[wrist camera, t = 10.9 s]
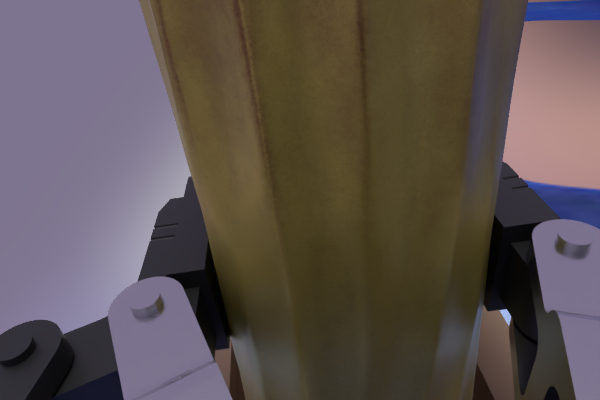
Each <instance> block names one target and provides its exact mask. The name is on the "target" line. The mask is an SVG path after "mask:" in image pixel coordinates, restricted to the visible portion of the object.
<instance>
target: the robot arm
mask: <svg viewBox="0 0 600 400" xmlns="http://www.w3.org/2000/svg"><path fill="white" fill-rule="evenodd" d="M154 227H155V229H153V233H152V236H151V241H150V243H149V246H148V249H147V253H146V256H145V259H144V262H143V266H142V269H141V272H140V275H139V279H138V282H136V283H134V284H132V285H131V286H129V287H127V288H126V289H125V290H124V291H122V292H121V293H120V294H119V295H118V296H117V297H116V298H115V300H114V301H113V303H112V304H111V306H110V309H109V312H108V316H107V317H105V318H103V319H101V320H98V321H96V322H94V323H91V324H89V325H86V326H83V327H81V328H78V329H76V330H73V331H70V332H68V333H66V334H63V333H62V331H61V330H60V328H59V327H58V326H57V325H56V324H55V323H53V322H51V321H48V320H34V321H29V322H26V323H23V324H20V325H18V326H15V327H13V328H12V329H9V330H7V331H6V332H4V333H3V334H1V335H0V400H233V399H232V397H231V395H230V392H229V390H228V388H227V385H226V383H225V381H224V378H223V376H222V374H221V371H220V369H219V367H218V365H217V363H216V361H215V350H222V349H228V348H229V347H230V332H229V327H228V322H227V317H226V313H225V308H224V304H223V299H222V295H221V291H220V286H219V281H218V277H217V273H216V269H215V265H214V261H213V257H212V253H211V248H210V244H209V240H208V235H207V231H206V226H205V222H204V218H203V214H202V210H201V207H200V203H199V200H198V197H197V193H196V190H195V186H194V183H193V179H192V176H191V177H189V178H188V181H187V185H186V190H185V194H184V197H182V198H175V199H170V200H169V202H168V203H167V204H166V205H165V206H164V207H163V208H162V209H161V210H160V211H159V213H158V216H157V219H156V223H155V226H154ZM483 305H484V306H485V308H486V310H487V311H495V310H502V309H507V310H508V312H509V313H510V315H511V316H512V317H511V321H510V325H509V340H510V351H511V363H512V374H513V386H514V397H515V400H600V229H598V228H596V227H594V226H591V225H589V224H586V223H582V222H578V221H574V220H565V219H561V218H560V217H559V216H558V215H557V214H556V213H555V212H554V211H553V210H552V209H551V208H550V207H549V206H548V205H547V204H546V203H545V202H544V201H543V200H542V199H541V198H540V197H539V196H538V195H537V194H536V193H535V192H534V191H533V190H532V189H531V188H528V185H527V184H526V183H525V182H524V181H523V180H522V179H521V178H519V177H518V175H517V174H516V173H515V172H514V170H513V169H512V168H510V166H509V165H508V164H506V163H504V162H502V167H501V173H500V180H499V187H498V193H497V200H496V206H495V213H494V219H493V226H492V234H491V242H490V251H489V260H488V270H487V279H486V287H485V295H484V303H483Z"/></svg>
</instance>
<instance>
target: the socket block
mask: <svg viewBox="0 0 600 400" xmlns="http://www.w3.org/2000/svg"><path fill="white" fill-rule="evenodd" d="M215 361H216V363H217V365H218V367H219V369H220V371H221V374H222V376H223V378H224V381H225V383H226V385H227V388H228V390H229V392H230V395H231V397H232V399H233V400H246V399H245V394H244V390H243V385H242V381H241V376H240V371H239V367H238V364H237V361H236V357H235V353H234V350H233V346H232V341H231V337H230V347H229V348H228V349H222V350H215ZM472 400H515V397H514V386H513V374H512V363H511V351H510V340H509V326H508V324H507V323H506V321H505V319H504V318H503V316H502V314H501V313H500V311H499V310H495V311H487V310H486V308H485V306H484V305H483V311H482V318H481V327H480V336H479V345H478V355H477V364H476V372H475V380H474V389H473V397H472Z"/></svg>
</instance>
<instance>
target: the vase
mask: <svg viewBox="0 0 600 400" xmlns="http://www.w3.org/2000/svg"><path fill="white" fill-rule="evenodd" d="M139 2H140V5H141V9H142V12H143V15H144V18H145V22H146V25H147V29H148V32H149V36H150V39H151V42H152V45H153V48H154V52H155V55H156V58H157V62H158V65H159V68H160V71H161V74H162V77H163V80H164V84H165V87H166V90H167V93H168V97H169V100H170V103H171V106H172V110H173V113H174V117H175V120H176V124H177V127H178V130H179V134H180V137H181V141H182V144H183V148H184V151H185V155H186V159H187V162H188V166H189V169H190V172H191V176H192V179H193V183H194V186H195V190H196V193H197V197H198V200H199V203H200V207H201V210H202V214H203V218H204V222H205V226H206V231H207V235H208V240H209V244H210V248H211V253H212V257H213V261H214V265H215V269H216V273H217V277H218V281H219V286H220V291H221V295H222V299H223V304H224V308H225V313H226V317H227V322H228V327H229V332H230V337H231V341H232V346H233V350H234V353H235V357H236V361H237V364H238V367H239V371H240V376H241V381H242V385H243V390H244V394H245V399H246V400H472V397H473V389H474V380H475V372H476V364H477V355H478V345H479V336H480V327H481V318H482V311H483V303H484V295H485V287H486V279H487V270H488V260H489V251H490V242H491V234H492V226H493V219H494V213H495V206H496V200H497V193H498V187H499V180H500V173H501V167H502V159H503V153H504V145H505V139H506V131H507V125H508V117H509V110H510V103H511V97H512V90H513V84H514V78H515V71H516V65H517V59H518V53H519V48H520V42H521V37H522V31H523V26H524V20H525V15H526V9H527V3H528V0H139Z"/></svg>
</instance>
